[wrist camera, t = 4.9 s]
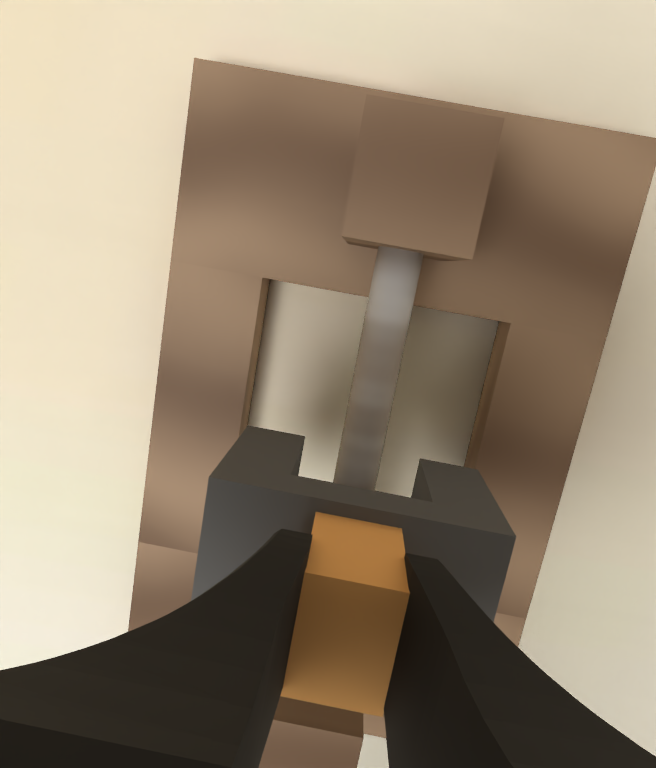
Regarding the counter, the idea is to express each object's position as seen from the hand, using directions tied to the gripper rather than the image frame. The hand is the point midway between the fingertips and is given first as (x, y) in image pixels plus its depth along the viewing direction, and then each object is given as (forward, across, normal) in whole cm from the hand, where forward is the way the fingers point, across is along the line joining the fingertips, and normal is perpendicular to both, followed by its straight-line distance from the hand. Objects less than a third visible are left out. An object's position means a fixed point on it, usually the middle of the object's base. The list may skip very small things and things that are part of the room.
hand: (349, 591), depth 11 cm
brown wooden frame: (+10, 0, 0) cm, 10 cm away
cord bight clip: (+5, 0, 0) cm, 5 cm away
